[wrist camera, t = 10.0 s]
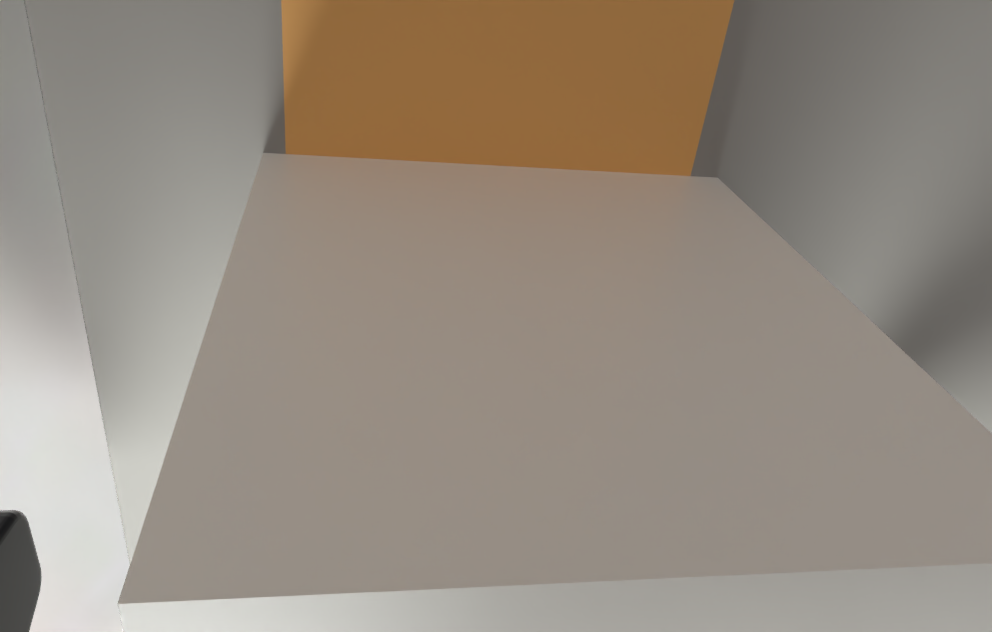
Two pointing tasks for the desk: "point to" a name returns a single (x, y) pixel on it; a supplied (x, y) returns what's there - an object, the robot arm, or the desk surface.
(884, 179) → the grey flat board
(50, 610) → the desk surface
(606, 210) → the white block
